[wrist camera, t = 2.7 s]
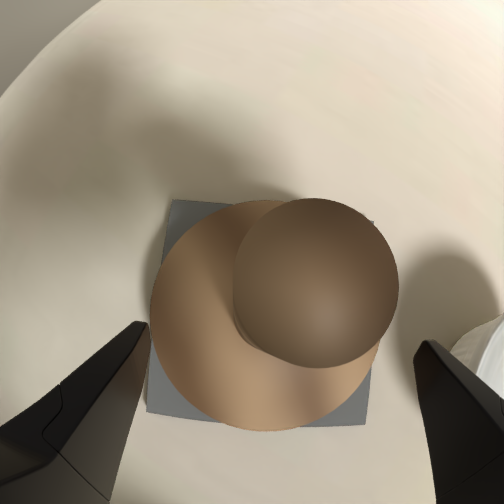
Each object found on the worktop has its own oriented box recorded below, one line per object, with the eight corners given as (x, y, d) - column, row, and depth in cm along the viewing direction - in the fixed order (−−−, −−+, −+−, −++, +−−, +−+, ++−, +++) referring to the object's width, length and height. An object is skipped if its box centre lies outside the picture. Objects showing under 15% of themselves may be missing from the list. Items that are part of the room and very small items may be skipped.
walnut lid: (232, 463, 15) (234, 590, 5) (118, 276, 18) (3, 201, 7) (408, 342, 18) (549, 329, 7) (297, 175, 20) (348, 39, 10)
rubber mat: (361, 422, 17) (365, 424, 16) (148, 409, 16) (146, 412, 16) (370, 224, 20) (373, 221, 20) (173, 203, 20) (172, 199, 19)
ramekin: (474, 471, 16) (515, 487, 11) (390, 428, 17) (433, 448, 12) (529, 355, 18) (571, 351, 13) (460, 289, 20) (508, 274, 15)
